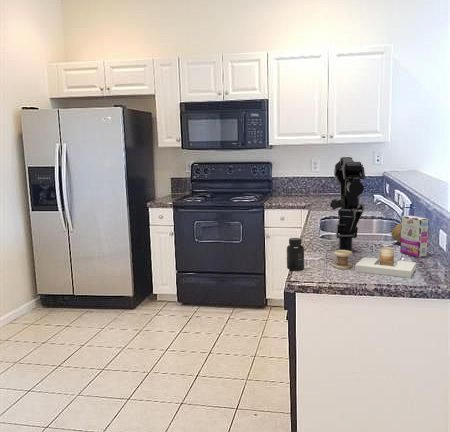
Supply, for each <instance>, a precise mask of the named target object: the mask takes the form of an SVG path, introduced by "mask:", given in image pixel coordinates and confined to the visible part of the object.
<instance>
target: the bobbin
mask: <svg viewBox="0 0 450 432" xmlns="http://www.w3.org/2000/svg"><path fill="white" fill-rule="evenodd" d="M333 255H334V256H335V257H337V261H335V262H334V263H333V268H335V269H337V270H349V269H352V267H353V264H352V263H351V262H349V257H352V256H353V251H352V252H351V251H348V250H337V249H336V250H334V251H333Z"/></svg>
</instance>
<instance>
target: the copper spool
mask: <svg viewBox="0 0 450 432" xmlns="http://www.w3.org/2000/svg"><path fill="white" fill-rule="evenodd" d="M394 262H395V248H393V247H389V246H388V247H387V246H386V247H385V246H384V247H383V246H382V247H380V248H379V265H385V266H394Z"/></svg>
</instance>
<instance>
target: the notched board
mask: <svg viewBox="0 0 450 432" xmlns="http://www.w3.org/2000/svg"><path fill="white" fill-rule="evenodd" d="M379 262H380V258H376V257H375V258H374V257H362V258H361V259H359V261H358V262H356V263H355V265H354V272H355V271H356V272H357V273H365V274H372V275H380V276H382V275H383V276H390V277H398V278H407V279H411V278H412V276H413V274H414V273H415V271H416V268H417V262H414V261H406V260H405V261H403V260H399V261H398V262H397V264H396V265H395V266H394V265H393V266H385V265H380V264H379Z"/></svg>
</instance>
